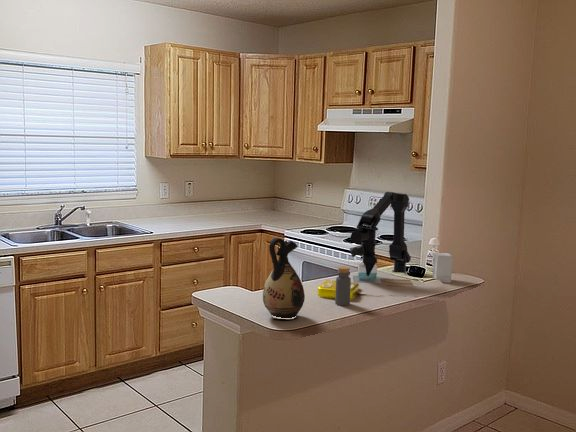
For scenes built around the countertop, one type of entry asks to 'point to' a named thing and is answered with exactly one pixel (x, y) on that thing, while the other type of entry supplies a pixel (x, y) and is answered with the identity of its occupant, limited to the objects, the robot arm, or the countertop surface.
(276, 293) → the ceramic jug
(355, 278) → the slate stand
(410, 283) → the walnut stand
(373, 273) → the block
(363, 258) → the robot arm
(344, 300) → the bottle
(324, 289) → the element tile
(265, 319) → the countertop surface
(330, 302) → the countertop surface
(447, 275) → the supplement box
